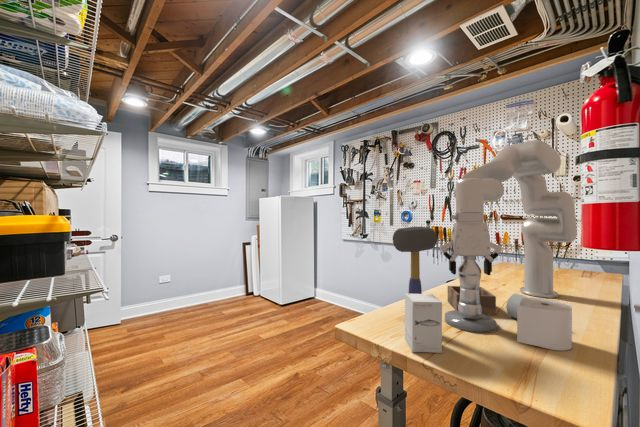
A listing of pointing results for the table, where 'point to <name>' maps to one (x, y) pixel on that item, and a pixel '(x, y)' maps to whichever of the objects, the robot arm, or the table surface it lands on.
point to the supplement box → (423, 323)
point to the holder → (485, 299)
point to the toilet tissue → (544, 323)
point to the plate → (470, 322)
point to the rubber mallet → (414, 250)
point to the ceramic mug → (513, 304)
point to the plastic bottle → (469, 288)
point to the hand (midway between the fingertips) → (470, 273)
